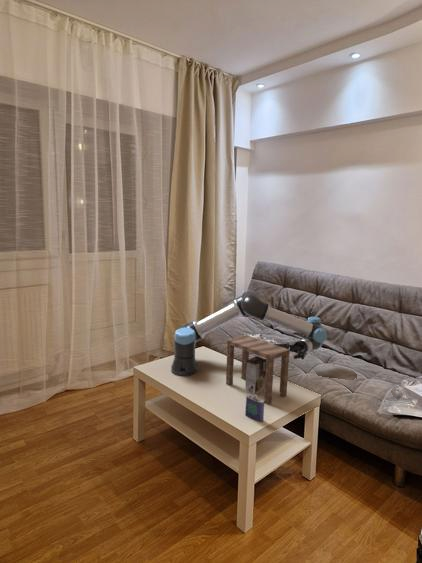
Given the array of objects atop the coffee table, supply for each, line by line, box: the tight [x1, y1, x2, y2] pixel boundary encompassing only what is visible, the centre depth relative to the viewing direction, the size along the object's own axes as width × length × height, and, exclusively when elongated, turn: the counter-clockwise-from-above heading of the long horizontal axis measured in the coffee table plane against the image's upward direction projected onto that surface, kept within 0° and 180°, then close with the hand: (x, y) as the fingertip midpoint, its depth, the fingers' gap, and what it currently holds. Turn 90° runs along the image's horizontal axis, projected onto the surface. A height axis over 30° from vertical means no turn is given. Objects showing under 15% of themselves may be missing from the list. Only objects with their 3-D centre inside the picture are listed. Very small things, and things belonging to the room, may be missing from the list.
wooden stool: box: [225, 334, 291, 406], centre depth 191 cm, size 29×14×24 cm, turn 42°
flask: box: [244, 394, 265, 423], centre depth 165 cm, size 9×3×11 cm, turn 47°
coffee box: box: [244, 355, 266, 395], centre depth 191 cm, size 9×6×16 cm
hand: (278, 354), depth 201 cm, fingers open, 13 cm apart
